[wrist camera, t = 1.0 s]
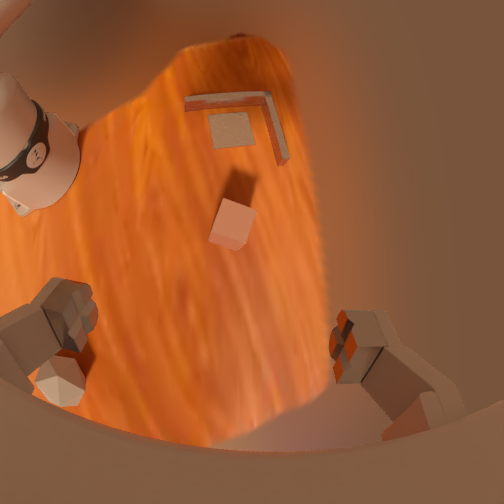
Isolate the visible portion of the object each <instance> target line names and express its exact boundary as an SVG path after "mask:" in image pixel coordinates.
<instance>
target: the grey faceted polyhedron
mask: <svg viewBox="0 0 504 504" xmlns="http://www.w3.org/2000/svg"><path fill="white" fill-rule="evenodd" d="M85 382H86V378H85V376H84V374H83V373H82V371H81V369H80V367H79V365H78V363H77V361H76V359H74V358H68V357H62V356H56V355H54V356H52V357H51V358H50V359H49V360H47V361H46V362H45V363H43V364H42V365H41V366H40V369H39V371H38V374H37V377H36V380H35V383H36V385H37V386H38V388H39V389H40V390H41V392H42V393H43V394H44V395H45V397H46V398H47V399H48V401H50V402H52V403H54V404H56V405H58V406H60V407H63V406H77V405H78V404H79V402H80V400H81V398H82V396H83V394H84V392H85Z"/></svg>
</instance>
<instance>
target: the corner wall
mask: <svg viewBox="0 0 504 504" xmlns="http://www.w3.org/2000/svg"><path fill="white" fill-rule="evenodd" d="M260 105H261V107H262V110H263V114H264V117H265V121H266V124H267V128H268V132H269V136H270V139H271V143H272V147H273V151H274V154H275V158H276V162H277V166H284V165H285V164H286V163H287V161H288V160H289V159H290V157H289V153H288V150H287V146H286V142H285V139H284V135H283V132H282V129H281V125H280V122H279V118H278V115H277V112H276V109H275V105H274V102H273V99H272V96H271V93H270V91H249V92H228V93H215V94H204V95H195V96H187V97H185V112H188V111H196V110H204V109H214V108H225V107H239V106H260ZM208 120H209V125H210V131H211V137H212V143H213V148H214V149H222V148H231V147H241V146H252V145H255V142H254V138H253V133H252V129H251V125H250V121H249V117H248V113H247V112H237V113H225V114H214V115H208Z"/></svg>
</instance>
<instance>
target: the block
mask: <svg viewBox="0 0 504 504" xmlns="http://www.w3.org/2000/svg"><path fill="white" fill-rule="evenodd" d="M256 212H257V210H255V209H252V208H250V207H247V206H244V205H242V204H239V203H236V202H234V201H231V200H228V199H225V198H223V200H222V203H221V205H220V208H219V211H218V213H217V216H216V219H215V221H214V224H213V227H212V230H211V233H210V236H209V240H208V241H209V242H212V243H215V244H218V245H220V246H223V247H226V248H229V249H232V250H234V251H237V250H239V249H240V248H241V247H243V246H244V245H245V244H246V242H247V239H248V236H249V233H250V230H251V227H252V224H253V221H254V218H255V215H256Z"/></svg>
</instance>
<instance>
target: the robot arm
mask: <svg viewBox="0 0 504 504" xmlns="http://www.w3.org/2000/svg"><path fill="white" fill-rule="evenodd" d="M33 1H34V0H0V38H1V36H2V35H3V34H4V33H5V32H6V31H7V30H8V29H9V28H10V27H11V26H12V24H13V23H14V22H15V21H16V20H17V19H18V18H19V17H20V16H21V15H22V14H23V13H24V12H25V11H26V10H27V9H28V8H29V7H30V6H31V5H32V3H33ZM78 135H79V127H78V126H77V125H76V124H72V123H67V122H63V121H62V119H61V118H60V117H59V116H58V115H57V114H56V113H53V114H52V113H45V112H44V110H43V109H42V108H41V106H40V105H39V104H37V103H36V102H35V101H33V100H31V99H30V98H29V96H28V95H27V94H26V92H25V91H24V89H23V88H22V87H21V85H20V84H19V82H18V81H17V80H16V78H15V77H14V76H13V75H11V74H8V73H4V72H0V192H1V193H3V194H4V195H5V196H6V197H7V198H8V200H9V201H10V203H11V204H12V206H13V207H14V209H15V211H16V212H17V213H18V215H20V216H22V217H24V216H26V215H27V214H29V213H30V212H32V211H33V210H35V209H40V208H44V207H47V206H50V205H51V204H53V203H55V202H56V201H57V200H59V199H60V198H61V197H62V196H63V195H64V194H65V193H66V191H67V190H68V189H69V187H70V186H71V184H72V183H73V181H74V179H75V177H76V174H77V171H78V168H79V163H80V151H79V146H78V142H77V139H78ZM19 206H20V207H19ZM92 294H93V293H92V290H91V287H90V285H88V284H87V283H82V282H77V281H72V280H68V279H62V278H58V277H54V278H51V280H50V281H49V282H48V283H47V284H46V285H45V286H44V288H43V289H42V290H41V291H40V292H39V293H38V295H37V296H36V297H35V298H34V299H33V301H32V302H31V303H30V304H25V305H23V306H21V307H19V308H17V309H15V310H13V311H11V312H9V313H7V314H6V315H4V316H2V317H0V504H504V399H503V400H501V401H499V402H497V403H495V404H493V405H491V406H489V407H486V408H484V409H482V410H480V411H478V412H475V413H473V414H470V415H468V414H467V411H466V409H465V406H464V404H463V401H462V399H461V397H460V394H459V392H458V390H457V388H456V385H455V384H454V383H453V382H451V381H450V380H449V379H448V378H446V377H445V376H444V375H443V374H441V373H440V372H439V371H438V370H436V369H435V368H434V367H433V366H431V365H430V364H429V363H427V362H426V361H425V360H424V359H422V358H421V357H420V356H419V355H417V354H416V353H415V352H414V351H412V350H411V349H410V348H408V347H407V346H402V344H401V342H400V340H399V338H398V336H397V334H396V331H395V329H394V327H393V325H392V323H391V321H390V319H389V317H388V315H387V313H386V312H385V311H383V310H370V311H360V310H341V312H340V313H339V315H338V317H337V322H338V326H336V327H335V328H334V329H333V330H332V332H331V335H330V340H329V351H330V356H331V358H332V359H334V360H335V361H336V363H335V365H334V367H333V370H334V374H335V379H336V383H337V384H354V383H361V386H362V387H363V388H364V389H365V390H366V392H367V393H368V394H369V395H370V396H371V397H372V398H373V400H374V401H375V402H376V403H377V404H378V405H379V407H380V408H381V409H382V410H383V411H384V412H385V413H386V415H388V417H389V418H390V419H391V420H392V421H393V422H392V423H391V424H390V425H389V426H388V427H387V428H386V429H384V430H383V432H382V433H381V436H382V440H383V441H381V442H376V443H370V444H364V445H359V446H352V447H344V448H336V449H327V450H315V451H295V452H255V451H235V450H224V449H214V448H205V447H198V446H191V445H185V444H179V443H173V442H168V441H163V440H158V439H154V438H149V437H145V436H141V435H137V434H133V433H130V432H126V431H122V430H119V429H116V428H112V427H109V426H106V425H103V424H100V423H97V422H94V421H91V420H89V419H86V418H83V417H81V416H78V415H75V414H73V413H70V412H68V411H66V410H63V409H61V408H59V407H56V406H54V405H52V404H50V403H48V402H46V401H43V400H41V399H39V398H37V397H35V396H33V395H31V394H32V392H33V390H34V385H33V384H32V383H31V381H30V380H29V379H28V377H27V376H29V375H30V374H31V373H32V372H33V371H35V370H36V369H37V368H38V367H40V366H41V365H42V364H43V363H45V362H46V361H47V360H49V359H50V358H51V357H52V356H54V355H55V354H56V353H57V352H59V351H60V350H61V349H62V348H64V349H68V350H71V351H75V352H78V353H81V351H82V350H83V348H84V346H85V344H86V342H87V340H88V336H87V333H89V332H91V331H92V330H94V328H95V326H96V324H97V319H98V309H97V306H96V303H95V302H94V301H93V300H92V299H91V296H92Z"/></svg>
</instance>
